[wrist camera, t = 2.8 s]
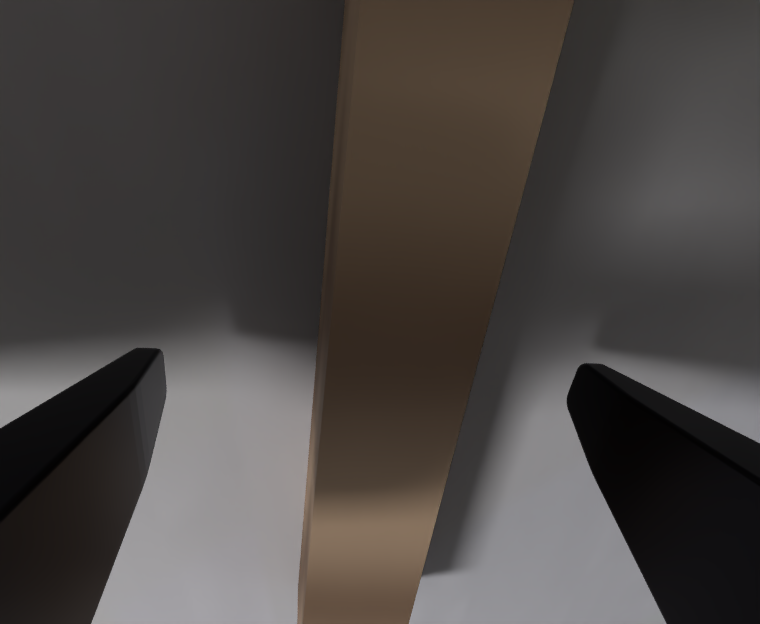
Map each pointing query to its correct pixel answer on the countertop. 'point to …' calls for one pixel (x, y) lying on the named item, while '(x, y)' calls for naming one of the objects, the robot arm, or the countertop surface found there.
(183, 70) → the countertop surface
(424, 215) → the bar
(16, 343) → the countertop surface
